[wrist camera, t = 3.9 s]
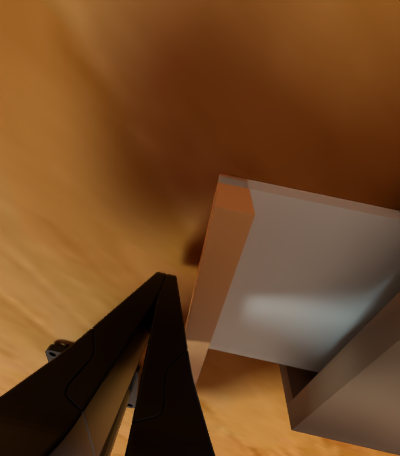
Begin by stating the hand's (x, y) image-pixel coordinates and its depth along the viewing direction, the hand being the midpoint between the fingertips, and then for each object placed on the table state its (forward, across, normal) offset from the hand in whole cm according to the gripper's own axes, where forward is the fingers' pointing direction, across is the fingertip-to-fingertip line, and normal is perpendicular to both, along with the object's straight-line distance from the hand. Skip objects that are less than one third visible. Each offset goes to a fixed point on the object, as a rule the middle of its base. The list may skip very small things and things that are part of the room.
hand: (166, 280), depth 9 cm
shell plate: (+1, -5, 0) cm, 5 cm away
